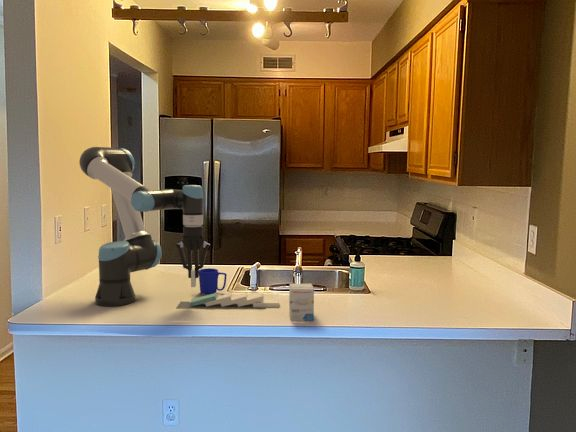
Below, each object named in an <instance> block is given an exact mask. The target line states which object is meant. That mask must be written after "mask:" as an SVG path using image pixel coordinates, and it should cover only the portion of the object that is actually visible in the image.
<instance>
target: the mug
mask: <svg viewBox="0 0 576 432" xmlns="http://www.w3.org/2000/svg"><path fill="white" fill-rule="evenodd" d="M220 275H222V276H224V279H223V285H222V288H219V287H218V284H219V276H220ZM227 277H228V276H227V273H226V272H219V269H216V268H210V267H209V268H202V269H199V277H198V280H199V283H198V284H199V290H200V294H201V295H210V294H214V293H217V291H219V292H220V291H221V292H222V291H223V290H224V289H225V288H226V284H227Z"/></svg>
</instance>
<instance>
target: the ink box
mask: <svg viewBox="0 0 576 432" xmlns="http://www.w3.org/2000/svg"><path fill="white" fill-rule="evenodd" d="M288 299H289V302H288V303H289V311H288V313H289V320H290V321H293V320H295V321H296V320H297V321H302V320H303V321H306V322H307V321H309V322H310V321H314V318H315V317H314V314H315V311H314V309H315V308H314V306H315V305H314V304H315V300H314V299H315V288H314V286H313V284H312V283H289V297H288Z"/></svg>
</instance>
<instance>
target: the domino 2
mask: <svg viewBox="0 0 576 432" xmlns="http://www.w3.org/2000/svg"><path fill="white" fill-rule="evenodd" d="M248 297H249V296H248V293H247V292H246V293H243V294H238V295H235V296H232V300H230V301H226V302H223V303H221V306H222V307H224V306H227V305H231V304H235V303H239V302H243V301H247V299H248Z"/></svg>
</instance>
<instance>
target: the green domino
mask: <svg viewBox="0 0 576 432" xmlns="http://www.w3.org/2000/svg"><path fill="white" fill-rule="evenodd" d="M218 296H219V295H218V293H217V292H216V293H214V294H205V295H203V296H198V297H196V298H192V299H191V300H190V301H189V302H190V305H191V307H192V306H196V305H199V304H203V303H207V302H210V301H214V300H216V299H217V297H218Z"/></svg>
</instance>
